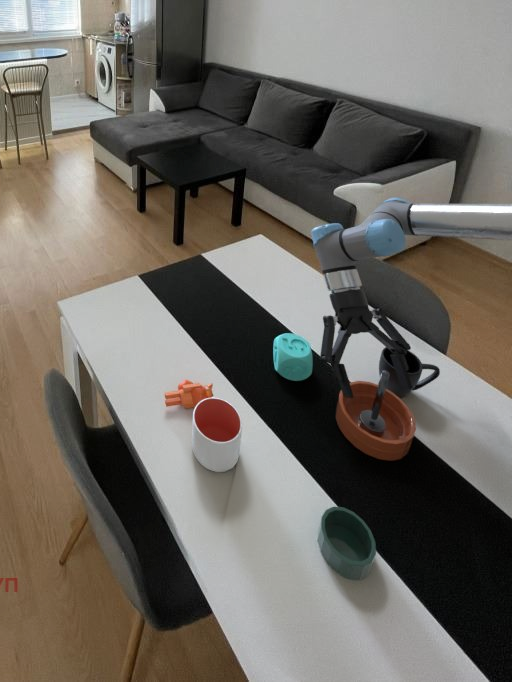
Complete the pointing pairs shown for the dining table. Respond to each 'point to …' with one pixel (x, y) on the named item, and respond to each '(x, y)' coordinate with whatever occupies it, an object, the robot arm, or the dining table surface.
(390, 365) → the mug
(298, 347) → the decorative dice
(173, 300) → the dining table surface
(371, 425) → the ladle
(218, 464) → the cup
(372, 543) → the faceted green pot
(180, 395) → the orange toy figurine
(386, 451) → the bowl
